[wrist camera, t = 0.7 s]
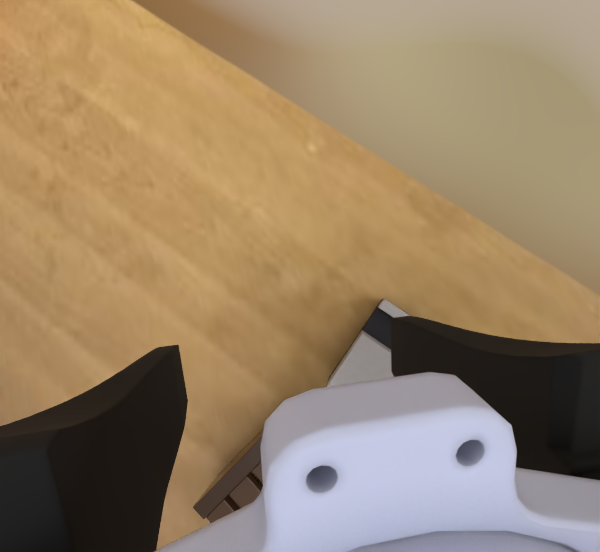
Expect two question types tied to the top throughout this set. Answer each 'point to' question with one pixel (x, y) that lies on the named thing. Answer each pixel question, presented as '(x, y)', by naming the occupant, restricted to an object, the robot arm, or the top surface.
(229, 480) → the slatted wooden tray
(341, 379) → the slipper
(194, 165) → the top surface
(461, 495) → the robot arm
